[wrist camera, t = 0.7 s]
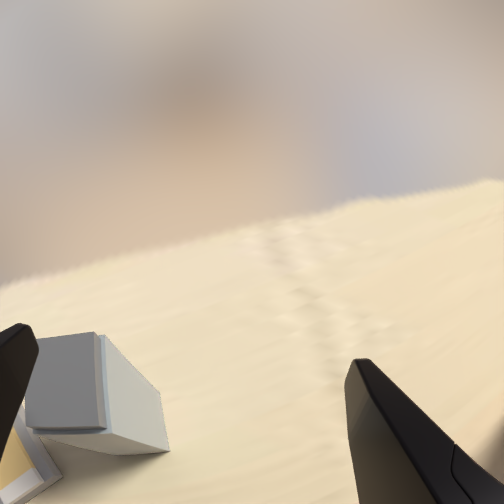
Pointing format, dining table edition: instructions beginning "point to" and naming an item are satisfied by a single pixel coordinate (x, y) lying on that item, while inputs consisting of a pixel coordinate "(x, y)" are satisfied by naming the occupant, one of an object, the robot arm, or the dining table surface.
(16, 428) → the rail board
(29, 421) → the block
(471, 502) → the robot arm
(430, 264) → the dining table surface
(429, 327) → the dining table surface
